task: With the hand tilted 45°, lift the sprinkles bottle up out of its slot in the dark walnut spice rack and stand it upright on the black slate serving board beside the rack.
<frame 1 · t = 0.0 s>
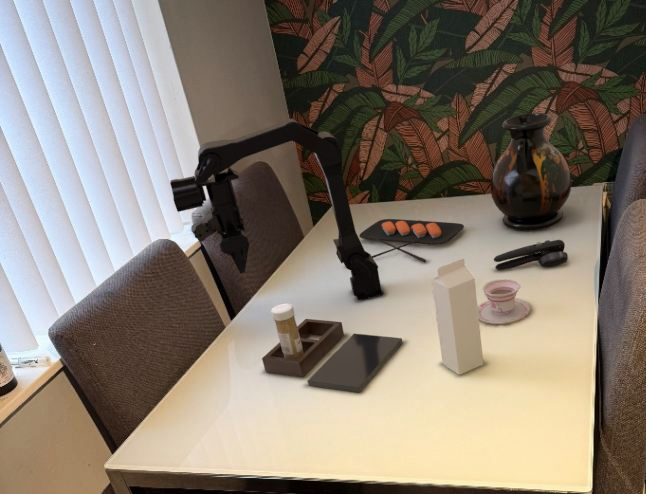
hand: (241, 265, 178), 15 cm above the table, tool pointing down, fingers open, 9 cm apart
spice rack: (306, 353, 167), on the table
slate board: (357, 363, 160), on the table
sprinkles bottle: (296, 364, 164), resting in spice rack
can opener: (530, 266, 188), on the table
dark ceramic vase: (532, 222, 212), on the table
teacup: (502, 313, 169), on the table
sushi plate: (397, 247, 212), on the table
milk: (463, 365, 153), on the table
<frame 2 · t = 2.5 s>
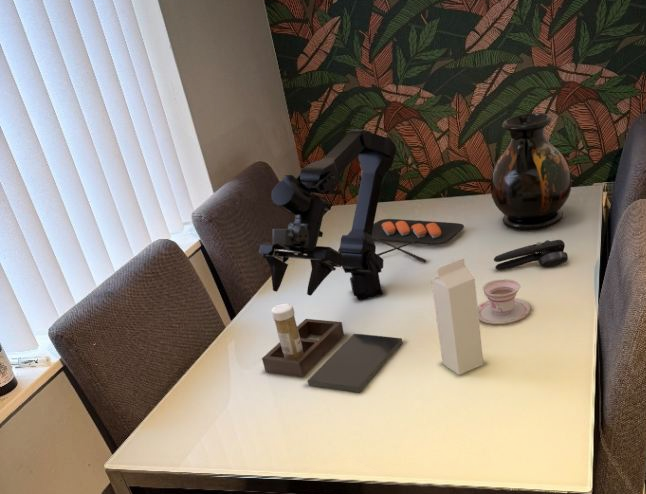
hand: (291, 293, 163), 13 cm above the table, tool tilted 40°, fingers open, 9 cm apart
nothing on the table moved.
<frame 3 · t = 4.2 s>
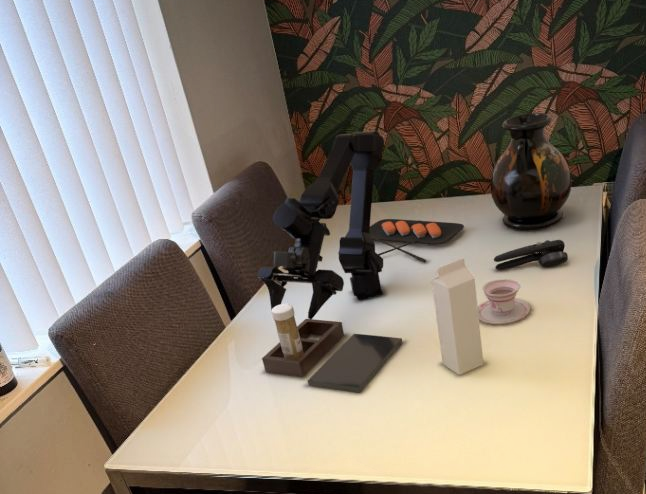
hand: (291, 316, 161), 10 cm above the table, tool tilted 45°, fingers open, 9 cm apart
nothing on the table moved.
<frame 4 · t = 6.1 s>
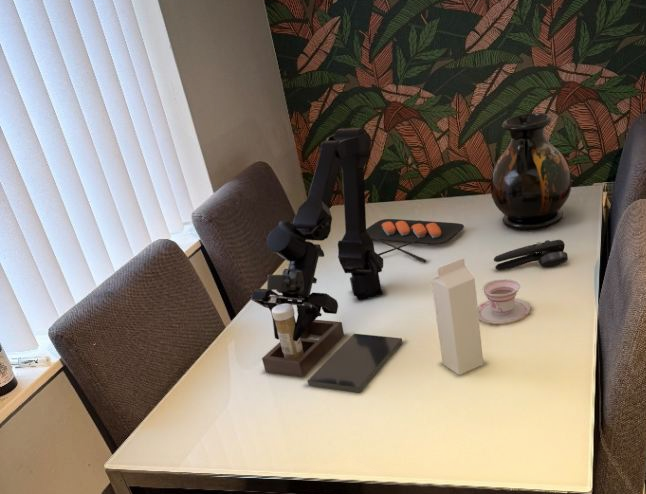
hand: (285, 339, 160), 7 cm above the table, tool tilted 45°, fingers closed on sprinkles bottle, 4 cm apart
sprinkles bottle: (296, 364, 164), resting in spice rack, touching gripper
everything else where it was.
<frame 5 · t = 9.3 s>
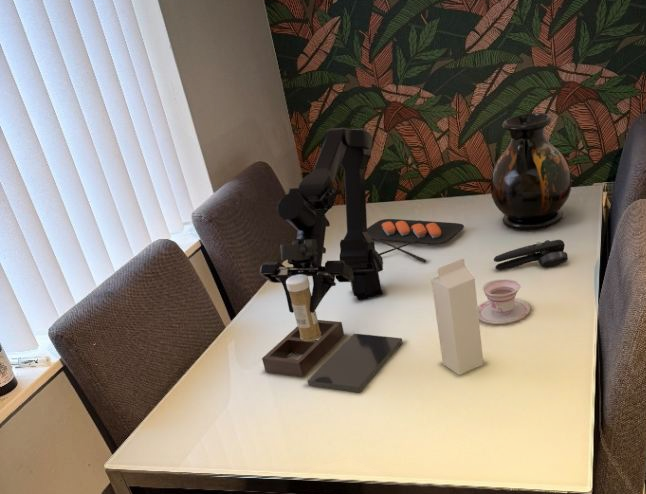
hand: (301, 312, 154), 13 cm above the table, tool tilted 45°, fingers closed on sprinkles bottle, 4 cm apart
sprinkles bottle: (311, 337, 159), point 6 cm above the table, touching gripper
everything else where it was.
when the fingers open (8 cm above the table, at t = 12.5 s): sprinkles bottle stays where it is, point 1 cm above the table.
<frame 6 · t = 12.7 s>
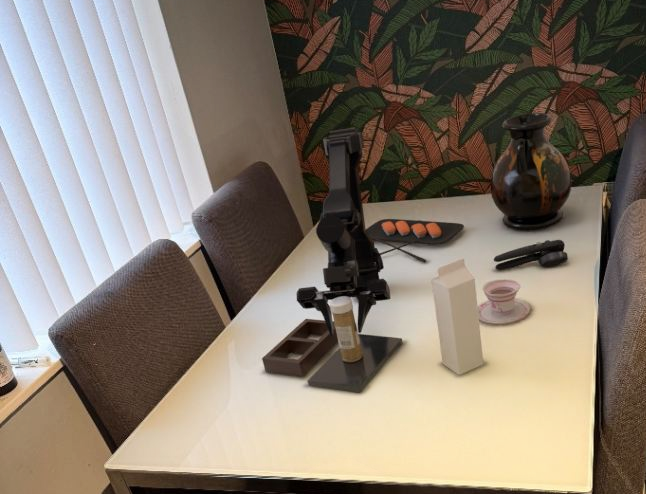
hand: (345, 333, 155), 8 cm above the table, tool tilted 45°, fingers open, 5 cm apart
sprinkles bottle: (352, 358, 160), point 1 cm above the table
everything else where it was.
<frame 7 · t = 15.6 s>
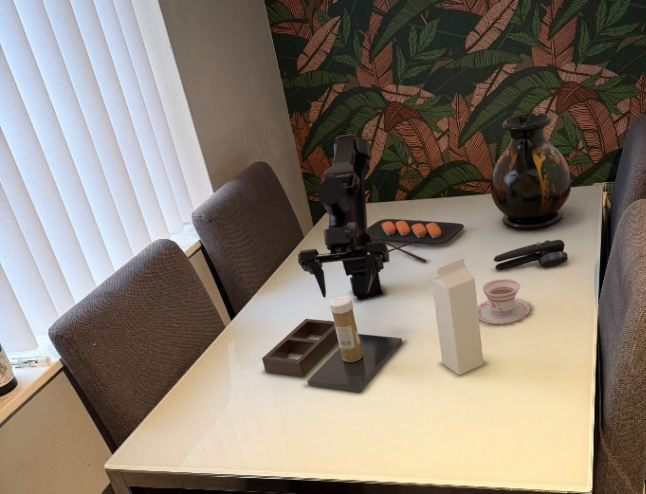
hand: (345, 294, 159), 13 cm above the table, tool tilted 45°, fingers open, 9 cm apart
sprinkles bottle: (352, 358, 160), point 1 cm above the table, touching slate board
everything else where it was.
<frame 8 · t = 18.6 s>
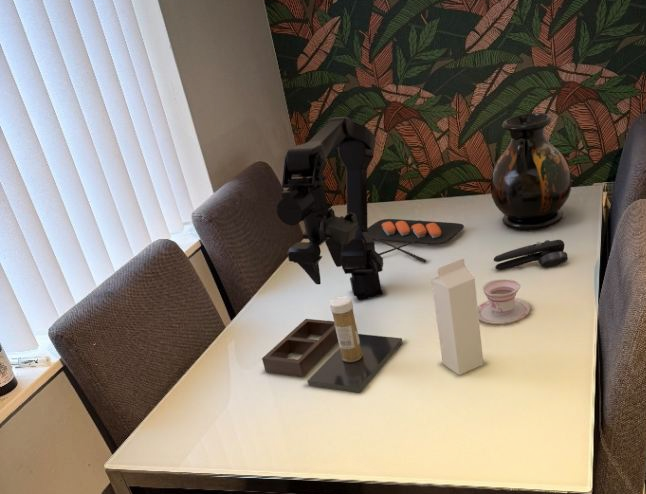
hand: (328, 275, 169), 13 cm above the table, tool pointing down, fingers open, 9 cm apart
nothing on the table moved.
at the end: sprinkles bottle inside the target area on the slate board (1.0 cm from its centre), point 1.0 cm above the slate board's base; sprinkles bottle tilted 0°; the gripper is holding nothing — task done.
